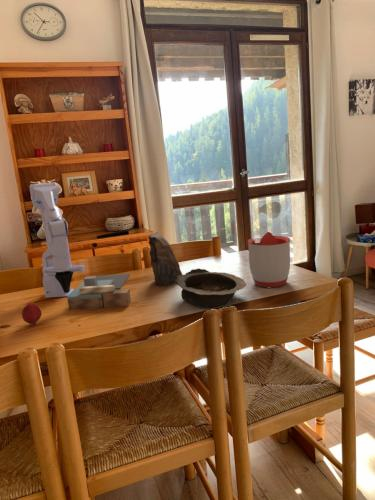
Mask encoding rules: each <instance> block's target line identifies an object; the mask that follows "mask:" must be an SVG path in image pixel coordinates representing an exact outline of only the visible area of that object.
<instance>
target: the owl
mask: <svg viewBox="0 0 375 500" xmlns="http://www.w3.org/2000/svg"><path fill="white" fill-rule="evenodd" d="M147 238H148V242H147V243H148V245H149V247H150V248H149V249H150V251H149V256H150V266H151V268H152V273H153V275H154V286H158V287H160V288H165V287H168V286H170V285H173V284H176V283H175V281H174V278H176V277H177V276H178V275H184V274H183V273H182V271H181V268H180V264H179V261H178V260H177V258H176V255H175V253H174V250H173V248H172V247H171V244H170V242H169V241H168V240H167V239H166V238H165V237H164V236H163V235H161V234H160V233H159V232H158V231H156V232H155V233H151V234H149V235H148V237H147Z"/></svg>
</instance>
